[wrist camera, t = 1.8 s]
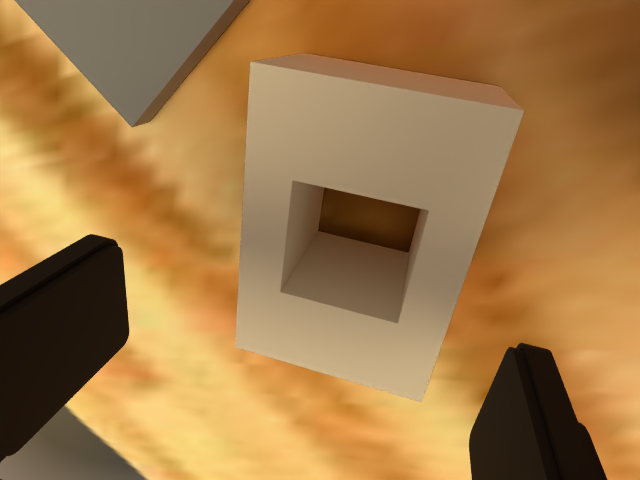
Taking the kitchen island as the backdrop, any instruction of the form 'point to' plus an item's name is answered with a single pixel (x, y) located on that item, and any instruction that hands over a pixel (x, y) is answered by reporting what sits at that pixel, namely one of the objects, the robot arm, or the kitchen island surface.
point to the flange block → (371, 181)
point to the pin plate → (134, 44)
